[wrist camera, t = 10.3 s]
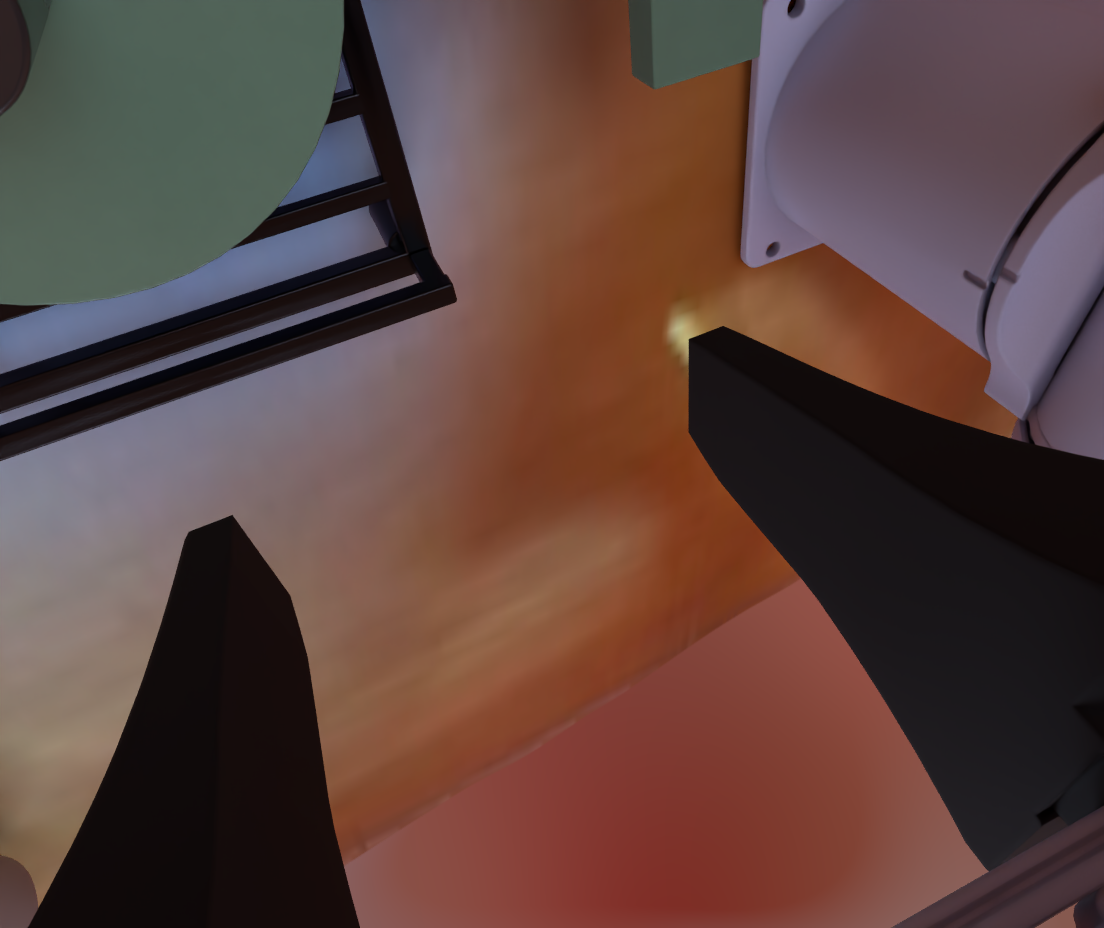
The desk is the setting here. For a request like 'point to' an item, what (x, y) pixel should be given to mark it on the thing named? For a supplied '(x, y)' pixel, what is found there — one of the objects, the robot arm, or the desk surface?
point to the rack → (401, 258)
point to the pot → (691, 37)
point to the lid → (150, 134)
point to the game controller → (16, 895)
